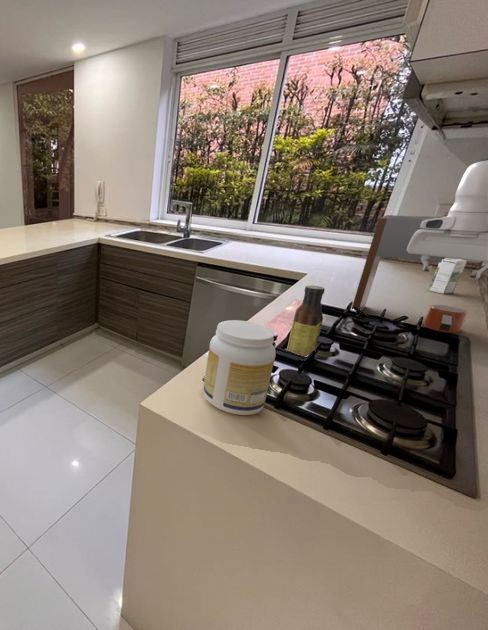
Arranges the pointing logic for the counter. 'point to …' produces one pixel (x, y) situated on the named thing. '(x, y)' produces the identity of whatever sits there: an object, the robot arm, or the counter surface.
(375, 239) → the flag
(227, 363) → the supplement tub
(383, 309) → the counter surface
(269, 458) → the counter surface
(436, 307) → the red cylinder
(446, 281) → the syrup box
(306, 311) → the sauce bottle
